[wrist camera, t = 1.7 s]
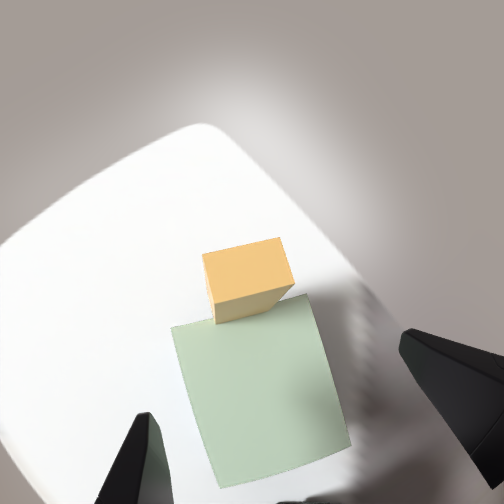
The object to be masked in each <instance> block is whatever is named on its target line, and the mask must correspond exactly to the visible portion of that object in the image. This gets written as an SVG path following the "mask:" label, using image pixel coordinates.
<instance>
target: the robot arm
mask: <svg viewBox="0 0 504 504" xmlns="http://www.w3.org/2000/svg"><path fill="white" fill-rule="evenodd" d="M399 353H400V355H401V357H402V358H403V360H404V362H405V363H406V365H407V367H408V368H409V370H410V372H411V373H412V375H413V377H414V378H415V380H416V382H417V383H418V385H419V386H420V387H421V389H422V390H423V391H424V393H425V394H426V395H427V397H428V398H429V400H430V401H431V402H432V404H433V405H434V406H435V408H436V409H437V410H438V412H439V413H440V415H441V416H442V417H443V419H444V420H445V421H446V423H447V424H448V426H449V427H450V428H451V430H452V431H453V433H454V434H455V436H456V437H457V438H458V440H459V441H460V443H461V444H462V446H463V447H464V449H465V450H466V451H467V453H468V454H469V455H470V458H471V459H472V460H473V462H474V463H475V465H476V466H477V468H478V469H479V471H480V472H481V474H482V476H483V477H484V479H485V480H486V482H487V483H488V485H489V486H490V488H491V489H492V490H493V489H494V488H496V487H497V486H498V485H499V484H500V483H502V482H503V481H504V356H500V355H497V354H494V353H490V352H487V351H484V350H480V349H477V348H474V347H470V346H467V345H464V344H461V343H457V342H454V341H451V340H448V339H445V338H441V337H438V336H435V335H432V334H428V333H426V332H422V331H419V330H416V329H412V328H411V329H408V330H406V331H404V332H403V333H402V335H401V339H400V344H399ZM94 504H174V501H173V494H172V486H171V477H170V470H169V466H168V462H167V457H166V453H165V448H164V444H163V439H162V434H161V430H160V427H159V425H158V424H157V422H156V420H155V419H154V417H153V416H152V414H151V413H150V412H144V413H139V414H137V416H136V418H135V420H134V422H133V424H132V426H131V428H130V430H129V432H128V434H127V436H126V438H125V440H124V442H123V444H122V446H121V448H120V450H119V452H118V454H117V456H116V459H115V461H114V463H113V465H112V467H111V469H110V471H109V473H108V475H107V477H106V480H105V482H104V484H103V486H102V488H101V490H100V492H99V495H98V497H97V499H96V501H95V503H94ZM278 504H284V503H278ZM301 504H330V503H301Z"/></svg>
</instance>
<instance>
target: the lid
mask: <svg viewBox="0 0 504 504" xmlns="http://www.w3.org/2000/svg"><path fill="white" fill-rule="evenodd" d="M202 257H203V265H204V272H205V280H206V287H207V293H208V297H209V301H210V305H211V309H212V315H213V318H212V319H208V320H203V321H199V322H195V323H190V324H186V325H182V326H177V327H173V328H171V332H172V336H173V340H174V344H175V348H176V352H177V356H178V360H179V364H180V368H181V371H182V375H183V379H184V382H185V386H186V389H187V393H188V396H189V400H190V403H191V406H192V410H193V413H194V416H195V419H196V422H197V426H198V429H199V432H200V435H201V438H202V441H203V444H204V447H205V449H206V452H207V455H208V458H209V461H210V464H211V466H212V469H213V472H214V474H215V477H216V480H217V482H218V485H219V487H220V489H222V488H226V487H231V486H235V485H239V484H244V483H248V482H251V481H255V480H259V479H262V478H266V477H269V476H273V475H276V474H279V473H282V472H286V471H289V470H292V469H295V468H297V467H300V466H303V465H306V464H309V463H311V462H314V461H317V460H319V459H322V458H324V457H327V456H329V455H332V454H334V453H336V452H339V451H341V450H343V449H346V448H348V447H350V446H351V442H350V438H349V434H348V431H347V427H346V423H345V420H344V416H343V412H342V409H341V405H340V402H339V398H338V395H337V391H336V388H335V384H334V381H333V377H332V374H331V370H330V367H329V364H328V360H327V357H326V354H325V350H324V347H323V344H322V341H321V337H320V334H319V331H318V328H317V324H316V321H315V318H314V315H313V312H312V309H311V306H310V302H309V299H308V296H307V294H303V295H300V296H296V297H293V298H289V299H285V300H282V301H279V300H280V299H281V297H282V296H283V295H284V294H285V293H286V292H287V291H288V290H289V289H290V288H291V287H292V286H293V285H294V284H295V282H294V279H293V276H292V273H291V270H290V266H289V263H288V260H287V257H286V254H285V251H284V248H283V245H282V242H281V239H280V237H278V238H273V239H269V240H264V241H260V242H255V243H251V244H246V245H242V246H237V247H233V248H228V249H224V250H219V251H215V252H210V253H206V254H202Z"/></svg>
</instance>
